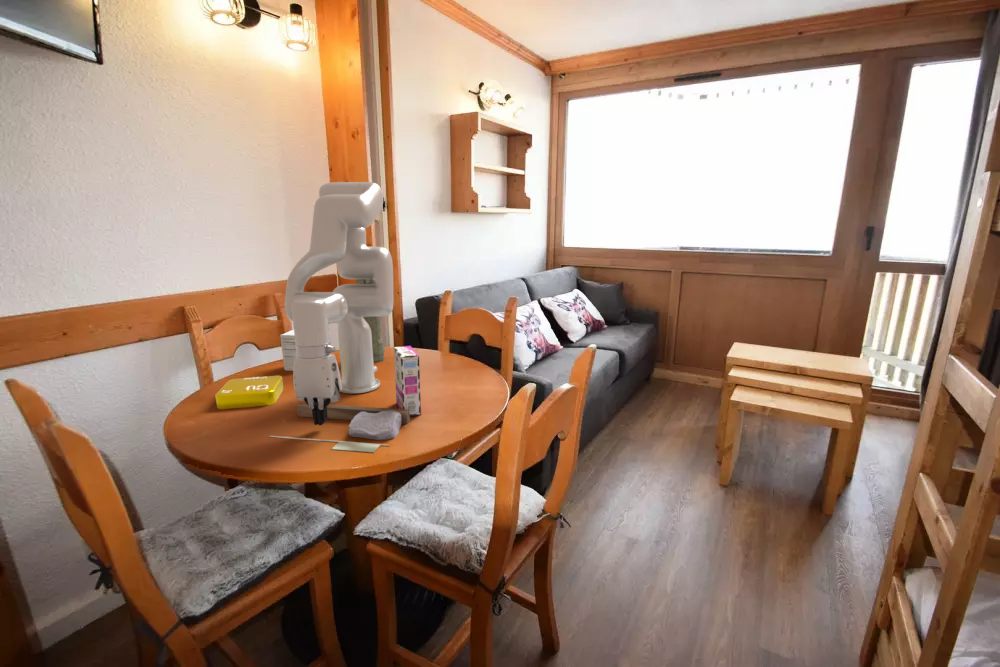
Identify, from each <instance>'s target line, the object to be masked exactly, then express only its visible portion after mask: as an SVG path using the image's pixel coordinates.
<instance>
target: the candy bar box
mask: <svg viewBox="0 0 1000 667" xmlns="http://www.w3.org/2000/svg"><path fill="white" fill-rule="evenodd" d="M393 353H394V355H393V356H394V375H395V376H394V378H395V380H394V381H395V399H396V405H397V406H398V409H407V410H409V412H410V417H414V416H415V417H416V416H420V415H422V408H421V407H422V404H421V400H422V399H421V379H420V375H421V372H420V354H418V353H417V352H416V351H415V349H414V348H413V347H412V346H411V345H404V346H395V347H393Z"/></svg>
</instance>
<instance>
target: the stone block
mask: <svg viewBox="0 0 1000 667" xmlns="http://www.w3.org/2000/svg"><path fill="white" fill-rule="evenodd" d="M401 426H402V423H401V414H400V413H399V412H397V411H394V410H389V411H382V412H379V413H367V412H365V411H363V412H360V413H358V414H357V415H356V416H355V417H354V418H353V419H352V420H350V423H349V424H348V435H349V436H350V437H352V438H364V439H368V440H377V441H383V440H390V439H394V438H396V437H397V436H398V435H399V432H400V428H401Z"/></svg>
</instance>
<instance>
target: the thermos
mask: <svg viewBox="0 0 1000 667" xmlns="http://www.w3.org/2000/svg"><path fill="white" fill-rule="evenodd" d="M355 284H376V281H375V280H373V279H355ZM363 318H364V320H365V321H366V322H367V323H368V325H369V327H370V329H371V334H372V349H373V363H374V364H377V363H380V362H383V361H385V359H386V358H385V351H386V350H385V343H384V340H383V330H382V329H383V328H382V316H381V317H363Z"/></svg>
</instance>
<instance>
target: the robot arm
mask: <svg viewBox="0 0 1000 667" xmlns="http://www.w3.org/2000/svg"><path fill="white" fill-rule="evenodd" d="M318 196H319V197H318V198H317V199H316V201H315V203H314V205H313V216H312V223H311V224H312V225H311V235H310V245H309V250H308V251H307V253H305V255H304V256H302V257H301V258H300V259H299V261H298V262H297V263H296V264H295V265H294V267H293V268H292V269H291V271H290V273H289V275H288V277H287V280H286V288H285V295H284V311H285V314H286V317H287V318H288V320H290V321H292V324H293V330H294V335H295V344H296V354H297V356H295V359H294V367H293V371H292V374H293V376H292V377H293V378H292V379H293V382H292V383H293V389H294V393H295V395H296V399H297V400H298V401H302V402H304V403H307V404H308V405H309V408H310V409H312V415H313V417H312V420H313V424H314V426H322V425H323V424H325V423H326V422H327V421H328V419H329V418H328V415H327V406H328V405H331V404H332V403H337V402H338V401H340V400H341V395H340V393H343V394H351V395H352V394H362V393H363V394H364V393H368V392H372V391H375V390H376V389H378V388H380V385H381V381H380V379H378V378H377V377H375V373H376V372H377V371H378V367H377V366H376V365H375V363H373V349H372V334H371V329H370V327H369V325H368V323H367V322H366V321H365V320H364V318H363V317H381V318H382V317H387V316H389V315H391V314H392V312H393V310H394V302H395V301H394V265H393V257H392V254H391V252H390V251H389V250H388V249H387V247H384V246H367V230H366V228H369V227H370V226H372V224H374V222H375V220H376V219H377V217H378V216H379V214H380V212H381V211H382V210H383V206H384V205H383V204H384V194H383V190H382V188H381V186H380V185H379V184H377V183H376V182H373V181H369V182H368V181H336V182H335V181H334V182H333V181H332V182H327V183H324V184H322V185H321V186H320V187H319V190H318ZM335 264H336V270H337V273H338V276H340V277H341V278H342V279H346V280H356V279H373V280H375V281H376V284H356V283H347V284H346V283H345V284H341V285H339V286H336V287H335V288H334V289H333V290H332V291H304V290H305V286H306V284H307V282H308V281H309V280H310V278H311V277H312V276H314V275H315V274H317V273H318V272H320V271H321V270H324V269H326V268H328V267H330V266H332V265H335ZM331 324H336V326H337V335H338V348H339V360H340V368H339V364H338V362H337V358H336V355H335V352H336V346H334V345H332V343H331V341H330V340H331V339H330V331H329V330H330V329H329V328H330V327H329V325H331ZM340 369H341V370H340ZM340 371H341V372H340ZM340 373H341V374H340Z"/></svg>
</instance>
